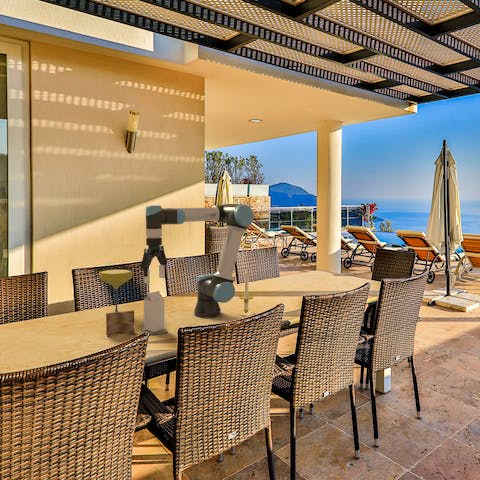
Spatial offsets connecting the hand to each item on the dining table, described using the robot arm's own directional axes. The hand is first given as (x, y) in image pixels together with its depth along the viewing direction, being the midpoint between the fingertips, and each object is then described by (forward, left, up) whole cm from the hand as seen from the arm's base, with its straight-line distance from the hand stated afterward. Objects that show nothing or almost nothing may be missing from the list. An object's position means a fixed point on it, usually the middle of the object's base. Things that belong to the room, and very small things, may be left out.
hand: (154, 280), depth 205 cm
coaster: (0, 0, -26) cm, 26 cm away
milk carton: (0, 0, -25) cm, 25 cm away
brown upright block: (+16, -1, -26) cm, 30 cm away
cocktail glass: (+13, -36, -26) cm, 46 cm away
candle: (-56, -12, -26) cm, 63 cm away
